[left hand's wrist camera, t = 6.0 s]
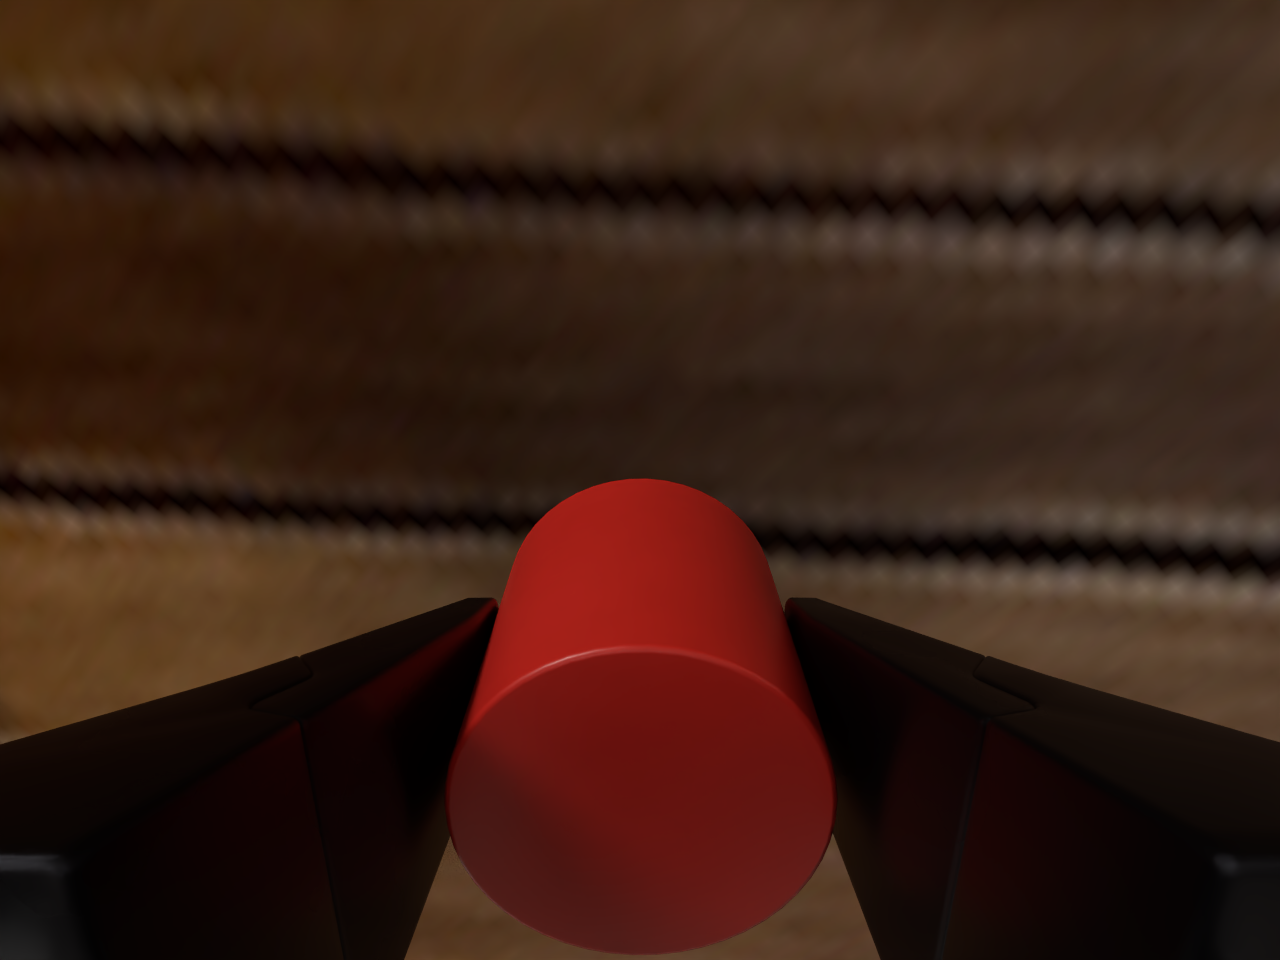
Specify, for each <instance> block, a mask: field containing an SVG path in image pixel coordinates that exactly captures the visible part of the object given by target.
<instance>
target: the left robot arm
mask: <svg viewBox="0 0 1280 960" xmlns="http://www.w3.org/2000/svg"><path fill="white" fill-rule="evenodd" d="M498 610H499V608H498V603H497V601H496V600H495V599H494V598H467V599H464V600H461V601H458V602H455V603H452V604H449V605H446V606H444V607H441V608H438V609H435V610H432V611H429V612H426V613H423V614H420V615H417V616H414V617H411V618H409V619H406V620H403V621H400V622H397V623H394V624H391V625H388V626H385V627H382V628H379V629H376V630H374V631H371V632H368V633H365V634H362V635H359V636H356V637H353V638H350V639H347V640H344V641H342V642H339V643H336V644H333V645H330V646H327V647H324V648H321V649H318V650H315V651H312V652H309V653H307V654H304V655H301V656H300V658H299V657H298V656H295V657H292V658H289V659H286V660H283V661H280V662H277V663H274V664H271V665H268V666H265V667H262V668H259V669H256V670H253V671H250V672H246V673H243V674H240V675H237V676H234V677H230V678H227V679H224V680H221V681H217V682H214V683H211V684H207V685H204V686H201V687H197V688H194V689H191V690H187V691H184V692H180V693H177V694H173V695H170V696H166V697H163V698H159V699H156V700H153V701H149V702H146V703H142V704H139V705H135V706H132V707H128V708H125V709H121V710H118V711H114V712H111V713H108V714H104V715H101V716H97V717H94V718H90V719H87V720H83V721H80V722H76V723H73V724H70V725H66V726H63V727H59V728H56V729H52V730H49V731H45V732H42V733H38V734H35V735H31V736H28V737H25V738H21V739H18V740H14V741H11V742H7V743H4V744H0V960H404V958H405V956H406V953H407V950H408V948H409V945H410V942H411V940H412V937H413V934H414V932H415V929H416V926H417V923H418V921H419V918H420V915H421V913H422V910H423V907H424V905H425V902H426V899H427V897H428V894H429V891H430V889H431V886H432V883H433V881H434V878H435V875H436V872H437V870H438V867H439V864H440V862H441V859H442V856H443V854H444V851H445V848H446V846H447V843H448V840H449V838H450V833H449V829H448V826H447V820H446V813H445V805H444V798H445V781H446V776H447V771H448V766H449V762H450V759H451V756H452V753H453V749H454V746H455V743H456V740H457V737H458V734H459V731H460V728H461V725H462V722H463V718H464V715H465V712H466V709H467V706H468V703H469V700H470V697H471V694H472V691H473V687H474V684H475V681H476V678H477V675H478V672H479V669H480V666H481V663H482V660H483V656H484V653H485V650H486V647H487V644H488V641H489V638H490V635H491V632H492V629H493V625H494V622H495V619H496V616H497V613H498ZM784 614H785V617H786V620H787V624H788V627H789V630H790V633H791V636H792V639H793V642H794V645H795V648H796V651H797V654H798V657H799V660H800V663H801V667H802V670H803V673H804V676H805V679H806V682H807V685H808V688H809V691H810V694H811V697H812V700H813V703H814V707H815V710H816V713H817V716H818V719H819V722H820V725H821V728H822V731H823V734H824V737H825V740H826V743H827V746H828V750H829V753H830V756H831V759H832V763H833V767H834V771H835V775H836V782H837V795H838V801H837V813H836V820H835V824H834V828H833V835H834V837H835V840H836V843H837V845H838V848H839V850H840V853H841V856H842V858H843V861H844V864H845V866H846V869H847V872H848V874H849V877H850V880H851V882H852V885H853V888H854V890H855V893H856V896H857V898H858V901H859V903H860V906H861V909H862V911H863V914H864V917H865V919H866V922H867V925H868V927H869V930H870V933H871V935H872V938H873V941H874V943H875V946H876V949H877V951H878V954H879V956H880V959H881V960H1280V742H1276V741H1273V740H1269V739H1266V738H1262V737H1259V736H1255V735H1252V734H1248V733H1245V732H1241V731H1238V730H1235V729H1231V728H1228V727H1224V726H1221V725H1217V724H1214V723H1210V722H1207V721H1203V720H1200V719H1196V718H1193V717H1189V716H1186V715H1182V714H1179V713H1175V712H1172V711H1168V710H1165V709H1161V708H1158V707H1154V706H1151V705H1147V704H1144V703H1140V702H1137V701H1134V700H1130V699H1127V698H1123V697H1120V696H1116V695H1113V694H1109V693H1106V692H1102V691H1099V690H1095V689H1092V688H1088V687H1085V686H1082V685H1078V684H1075V683H1072V682H1068V681H1065V680H1062V679H1058V678H1055V677H1052V676H1048V675H1045V674H1042V673H1039V672H1036V671H1033V670H1030V669H1027V668H1023V667H1020V666H1017V665H1014V664H1011V663H1008V662H1005V661H1002V660H999V659H996V658H993V657H990V656H987V657H985V656H984V655H981V654H978V653H975V652H972V651H969V650H966V649H964V648H961V647H958V646H955V645H952V644H949V643H946V642H943V641H940V640H937V639H934V638H931V637H928V636H925V635H922V634H919V633H917V632H914V631H911V630H908V629H905V628H902V627H899V626H896V625H893V624H890V623H887V622H884V621H881V620H878V619H875V618H872V617H869V616H867V615H864V614H861V613H858V612H855V611H852V610H849V609H846V608H843V607H840V606H837V605H834V604H831V603H828V602H825V601H822V600H820V599H817V598H789V599H788V600H787V602H786V604H785V612H784Z"/></svg>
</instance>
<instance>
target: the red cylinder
mask: <svg viewBox="0 0 1280 960" xmlns="http://www.w3.org/2000/svg"><path fill="white" fill-rule="evenodd" d="M837 801H838V795H837V782H836V775H835V771H834V767H833V763H832V759H831V756H830V753H829V750H828V746H827V743H826V740H825V737H824V734H823V731H822V728H821V725H820V722H819V719H818V716H817V713H816V710H815V707H814V703H813V700H812V697H811V694H810V691H809V688H808V685H807V682H806V679H805V676H804V673H803V670H802V667H801V663H800V660H799V657H798V654H797V651H796V648H795V645H794V642H793V639H792V636H791V633H790V630H789V627H788V624H787V620H786V617H785V614H784V611H783V608H782V605H781V602H780V599H779V596H778V593H777V590H776V587H775V584H774V581H773V577H772V574H771V571H770V568H769V565H768V562H767V560H766V557H765V555H764V553H763V550H762V548H761V546H760V544H759V543H758V541H757V539H756V538H755V536H754V534H753V533H752V532H751V530H750V529H749V528H748V527H747V526H746V524H745V523H744V522H743V521H742V520H741V519H740V518H739V517H738V516H737V515H736V514H735V513H734V512H733V511H731V510H730V509H729V508H728V507H726V506H725V505H723V504H722V503H721V502H719V501H718V500H716V499H715V498H713V497H711V496H709V495H707V494H705V493H703V492H701V491H699V490H696V489H693V488H691V487H688V486H685V485H682V484H678V483H674V482H669V481H664V480H655V479H626V480H619V481H612V482H607V483H604V484H600V485H596V486H593V487H590V488H588V489H586V490H583V491H581V492H578V493H576V494H574V495H573V496H571V497H569V498H567V499H566V500H564V501H562V502H561V503H559V504H558V505H557V506H555V507H554V508H553V509H551V510H550V511H549V512H547V513H546V514H545V515H544V516H543V517H542V518H541V519H540V520H539V521H538V522H537V523H536V525H535V526H534V527H533V529H532V530H531V531H530V532H529V534H528V535H527V536H526V538H525V540H524V542H523V543H522V545H521V547H520V549H519V551H518V553H517V556H516V558H515V561H514V564H513V567H512V570H511V573H510V576H509V579H508V582H507V585H506V588H505V591H504V594H503V598H502V601H501V604H500V607H499V610H498V613H497V616H496V619H495V622H494V625H493V629H492V632H491V635H490V638H489V641H488V644H487V647H486V650H485V653H484V656H483V660H482V663H481V666H480V669H479V672H478V675H477V678H476V681H475V684H474V687H473V691H472V694H471V697H470V700H469V703H468V706H467V709H466V712H465V715H464V718H463V722H462V725H461V728H460V731H459V734H458V737H457V740H456V743H455V746H454V749H453V753H452V756H451V759H450V762H449V766H448V771H447V776H446V781H445V798H444V805H445V813H446V820H447V826H448V829H449V833H450V836H451V839H452V842H453V846H454V848H455V850H456V852H457V854H458V856H459V859H460V861H461V863H462V865H463V866H464V868H465V869H466V871H467V872H468V874H469V875H470V877H471V878H472V880H473V881H474V882H475V884H476V885H477V886H478V887H479V888H480V889H481V890H482V891H483V892H484V893H485V895H486V896H487V897H488V898H489V899H490V900H492V901H493V902H494V903H495V904H496V905H497V906H498V907H500V908H501V909H502V910H503V911H504V912H506V913H507V914H509V915H510V916H512V917H513V918H515V919H516V920H518V921H519V922H521V923H522V924H524V925H526V926H528V927H529V928H531V929H533V930H535V931H537V932H539V933H541V934H543V935H546V936H548V937H551V938H553V939H556V940H558V941H561V942H563V943H567V944H570V945H574V946H577V947H581V948H585V949H589V950H595V951H600V952H606V953H615V954H627V955H657V954H667V953H676V952H682V951H687V950H692V949H697V948H702V947H705V946H708V945H711V944H715V943H718V942H721V941H724V940H727V939H729V938H731V937H734V936H736V935H738V934H741V933H743V932H745V931H747V930H749V929H751V928H752V927H754V926H756V925H758V924H759V923H761V922H763V921H765V920H766V919H767V918H769V917H770V916H772V915H773V914H774V913H776V912H777V911H779V910H780V909H781V908H783V907H784V906H785V905H786V904H787V903H788V902H789V901H790V900H791V899H792V898H793V897H795V896H796V895H797V894H798V893H799V891H800V890H801V889H802V888H803V887H804V885H805V884H806V883H807V882H808V881H809V879H810V878H811V877H812V875H813V874H814V872H815V870H816V869H817V867H818V866H819V864H820V862H821V861H822V859H823V857H824V854H825V852H826V850H827V847H828V845H829V843H830V840H831V836H832V832H833V828H834V824H835V820H836V813H837Z"/></svg>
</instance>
